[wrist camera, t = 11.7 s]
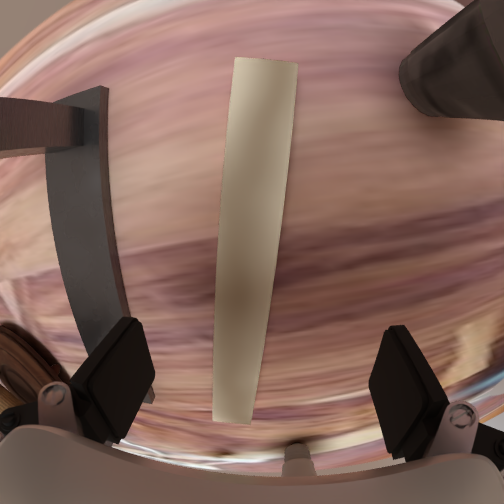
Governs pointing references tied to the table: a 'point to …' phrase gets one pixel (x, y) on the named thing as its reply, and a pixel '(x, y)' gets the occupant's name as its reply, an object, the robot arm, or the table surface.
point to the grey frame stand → (75, 201)
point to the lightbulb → (298, 462)
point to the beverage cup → (460, 66)
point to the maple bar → (249, 227)
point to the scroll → (22, 371)
